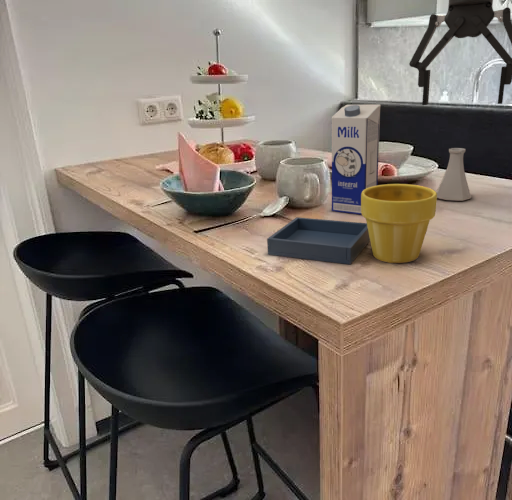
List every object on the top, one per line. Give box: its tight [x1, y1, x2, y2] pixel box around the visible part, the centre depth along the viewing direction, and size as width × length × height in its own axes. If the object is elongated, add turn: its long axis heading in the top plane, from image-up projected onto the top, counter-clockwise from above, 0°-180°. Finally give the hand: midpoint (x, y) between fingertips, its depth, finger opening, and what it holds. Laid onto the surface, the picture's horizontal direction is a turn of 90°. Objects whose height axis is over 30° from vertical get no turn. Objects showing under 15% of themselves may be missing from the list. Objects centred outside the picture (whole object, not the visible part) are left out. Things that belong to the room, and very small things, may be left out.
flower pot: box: [361, 183, 438, 264], centre depth 73 cm, size 10×10×10 cm
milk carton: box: [331, 103, 382, 216], centre depth 96 cm, size 7×7×20 cm
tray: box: [266, 216, 370, 265], centre depth 79 cm, size 13×12×3 cm
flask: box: [436, 147, 472, 202], centre depth 102 cm, size 7×7×10 cm
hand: (461, 104), depth 98 cm, fingers open, 13 cm apart
